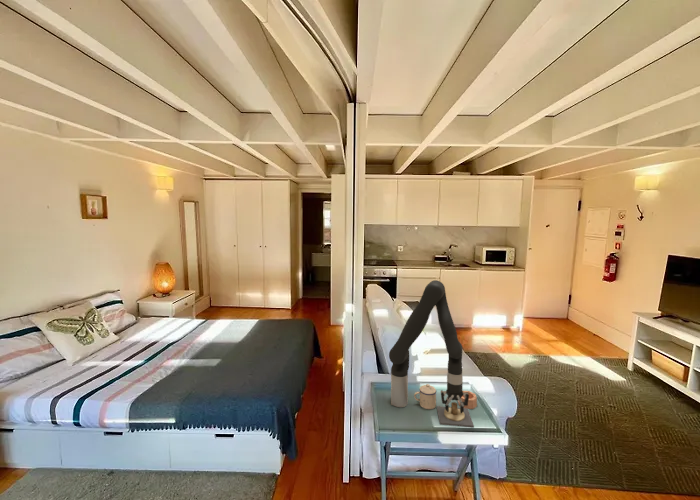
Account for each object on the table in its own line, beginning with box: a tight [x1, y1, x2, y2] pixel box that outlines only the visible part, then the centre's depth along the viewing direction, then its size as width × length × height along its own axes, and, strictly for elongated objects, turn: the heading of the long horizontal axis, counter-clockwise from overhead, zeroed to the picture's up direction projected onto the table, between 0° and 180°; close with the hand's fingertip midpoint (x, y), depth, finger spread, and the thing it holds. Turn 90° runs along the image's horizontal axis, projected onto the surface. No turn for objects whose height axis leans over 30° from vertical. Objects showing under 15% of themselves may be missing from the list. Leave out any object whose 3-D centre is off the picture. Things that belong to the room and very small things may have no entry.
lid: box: [444, 401, 465, 421], centre depth 158 cm, size 10×10×6 cm
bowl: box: [457, 390, 478, 410], centre depth 169 cm, size 9×9×5 cm
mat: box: [436, 405, 475, 428], centre depth 158 cm, size 16×14×1 cm
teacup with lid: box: [413, 383, 437, 410], centre depth 169 cm, size 12×9×12 cm
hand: (454, 411), depth 158 cm, fingers open, 6 cm apart
